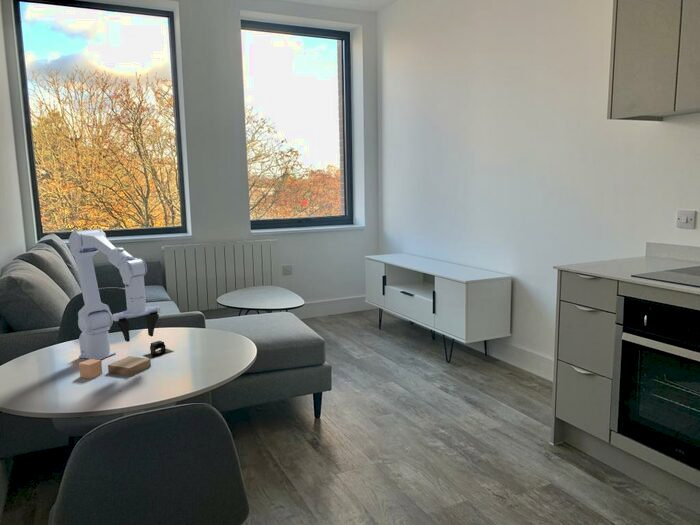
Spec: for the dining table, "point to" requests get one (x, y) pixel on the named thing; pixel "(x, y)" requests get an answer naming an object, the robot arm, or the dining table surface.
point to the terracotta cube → (90, 368)
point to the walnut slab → (129, 366)
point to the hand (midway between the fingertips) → (139, 338)
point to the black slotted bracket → (156, 346)
